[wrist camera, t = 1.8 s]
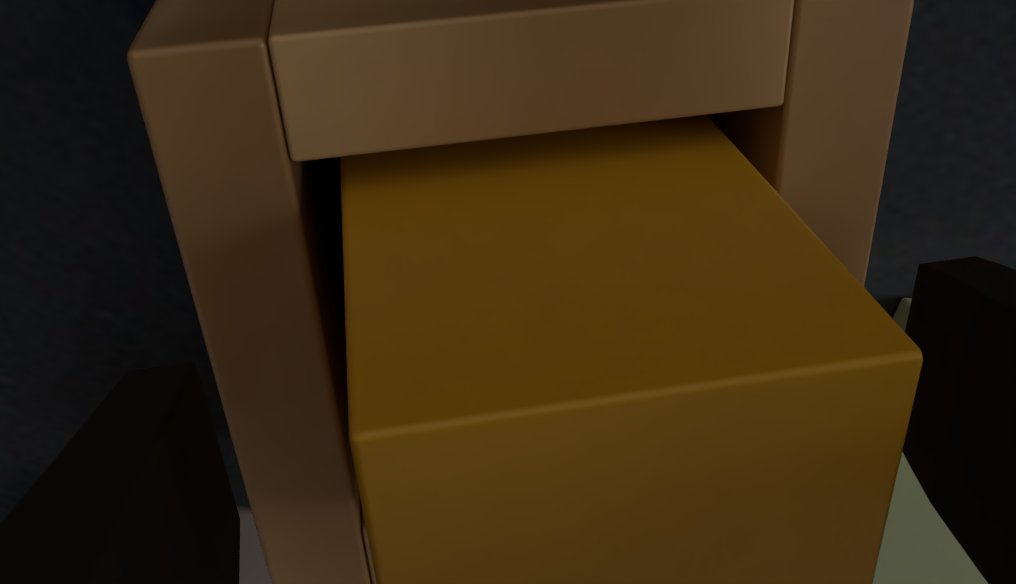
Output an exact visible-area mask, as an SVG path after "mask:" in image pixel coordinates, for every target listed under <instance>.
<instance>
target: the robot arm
mask: <svg viewBox="0 0 1016 584" xmlns="http://www.w3.org/2000/svg"><path fill="white" fill-rule="evenodd" d="M905 333H906V334H907V335H908V336H909V337H910V338H911V340H912V341H913V342H914V343H915V344H916V345H917V346H918V347H919V348H920V349H921V352H922V356H923V362H922V367H921V371H920V375H919V380H918V384H917V389H916V393H915V397H914V402H913V406H912V411H911V415H910V420H909V424H908V428H907V433H906V437H905V442H904V446H903V450H902V452H903V454H904V456H905V458H906V460H907V462H908V463H909V465H910V467H911V469H912V471H913V473H914V474H915V476H916V478H917V480H918V482H919V483H920V485H921V487H922V489H923V490H924V492H925V494H926V496H927V498H928V499H929V501H930V503H931V504H932V506H933V507H934V509H935V510H936V512H937V513H938V514H939V516H940V517H941V519H942V520H943V522H944V523H945V524H946V526H947V527H948V529H949V530H950V531H951V533H952V534H953V536H954V537H955V538H956V540H957V541H958V543H959V544H960V545H961V547H962V548H963V550H964V551H965V552H966V554H967V555H968V556H969V558H970V559H971V561H972V562H973V563H974V565H975V566H976V568H977V569H978V570H979V572H980V573H981V574H982V576H983V577H984V579H985V580H986V581H987V583H988V584H1016V270H1015V269H1012V268H1009V267H1006V266H1004V265H1001V264H998V263H995V262H991V261H988V260H985V259H982V258H979V257H968V258H961V259H953V260H946V261H939V262H931V263H924V264H919V267H918V272H917V277H916V281H915V286H914V291H913V296H912V300H911V305H910V310H909V315H908V320H907V324H906V329H905ZM239 550H240V517H239V514H238V510H237V507H236V503H235V500H234V496H233V493H232V489H231V486H230V483H229V479H228V476H227V472H226V469H225V465H224V462H223V458H222V455H221V451H220V448H219V444H218V441H217V437H216V434H215V430H214V427H213V423H212V420H211V417H210V413H209V410H208V406H207V403H206V399H205V396H204V392H203V389H202V385H201V382H200V378H199V375H198V371H197V368H196V364H195V362H192V363H185V364H177V365H170V366H162V367H155V368H148V369H140V370H133V371H128V372H127V373H126V374H125V375H124V377H123V378H122V379H121V380H120V381H119V382H118V383H117V385H116V386H115V387H114V388H113V389H112V391H111V392H110V393H109V394H108V395H107V397H106V398H105V399H104V400H103V401H102V403H101V404H100V405H99V406H98V407H97V409H96V410H95V411H94V412H93V413H92V415H91V416H90V417H89V418H88V419H87V421H86V422H85V423H84V424H83V426H82V427H81V428H80V429H79V430H78V432H77V433H76V434H75V435H74V436H73V438H72V439H71V440H70V441H69V443H68V444H67V445H66V446H65V447H64V449H63V450H62V451H61V452H60V453H59V455H58V456H57V457H56V458H55V460H54V461H53V462H52V463H51V464H50V466H49V467H48V468H47V469H46V470H45V472H44V473H43V474H42V475H41V476H40V478H39V479H38V480H37V481H36V482H35V483H34V485H33V486H32V487H31V488H30V489H29V490H28V492H27V493H26V494H25V495H24V496H23V497H22V499H21V500H20V501H19V502H18V503H17V504H16V506H15V507H14V508H13V509H12V510H11V511H10V513H9V514H8V515H7V516H6V517H5V518H4V519H3V521H2V522H1V523H0V584H239V552H240V551H239Z"/></svg>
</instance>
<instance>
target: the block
mask: <svg viewBox="0 0 1016 584" xmlns="http://www.w3.org/2000/svg"><path fill="white" fill-rule="evenodd" d="M340 175H341V206H342V236H343V267H344V298H345V329H346V359H347V390H348V421H349V441H350V447H351V452H352V457H353V463H354V468H355V473H356V478H357V484H358V489H359V494H360V500H361V505H362V510H363V516H364V521H365V526H366V531H367V537H368V542H369V547H370V553H371V558H372V563H373V568H374V574H375V579H376V584H872V583H873V578H874V574H875V570H876V565H877V561H878V556H879V552H880V548H881V543H882V539H883V534H884V530H885V525H886V521H887V517H888V512H889V508H890V503H891V499H892V495H893V490H894V486H895V481H896V477H897V473H898V468H899V464H900V459H901V455H902V450H903V446H904V442H905V437H906V433H907V428H908V424H909V420H910V415H911V411H912V406H913V402H914V397H915V393H916V389H917V384H918V380H919V375H920V371H921V367H922V362H923V356H922V352H921V349H920V348H919V347H918V346H917V345H916V344H915V343H914V342H913V341H912V340H911V338H910V337H909V336H908V335H907V334H906V333H905V332H904V331H903V330H902V329H901V327H900V326H899V325H898V324H897V323H896V322H895V321H894V320H893V319H892V318H891V317H890V315H889V314H888V313H887V312H886V311H885V310H884V309H883V308H882V307H881V306H880V304H879V303H878V302H877V301H876V300H875V299H874V298H873V297H872V296H871V295H870V293H869V292H868V291H867V290H866V289H865V288H864V287H863V286H862V285H861V284H860V283H859V281H858V280H857V279H856V278H855V277H854V276H853V275H852V274H851V273H850V272H849V270H848V269H847V268H846V267H845V266H844V265H843V264H842V263H841V262H840V261H839V259H838V258H837V257H836V256H835V255H834V254H833V253H832V252H831V251H830V250H829V249H828V247H827V246H826V245H825V244H824V243H823V242H822V241H821V240H820V239H819V238H818V236H817V235H816V234H815V233H814V232H813V231H812V230H811V229H810V228H809V227H808V225H807V224H806V223H805V222H804V221H803V220H802V219H801V218H800V217H799V216H798V215H797V213H796V212H795V211H794V210H793V209H792V208H791V207H790V206H789V205H788V204H787V202H786V201H785V200H784V199H783V198H782V197H781V196H780V195H779V194H778V193H777V191H776V190H775V189H774V188H773V187H772V186H771V185H770V184H769V183H768V182H767V181H766V179H765V178H764V177H763V176H762V175H761V174H760V173H759V172H758V171H757V170H756V168H755V167H754V166H753V165H752V164H751V163H750V162H749V161H748V160H747V159H746V157H745V156H744V155H743V154H742V153H741V152H740V151H739V150H738V149H737V148H736V147H735V145H734V144H733V143H732V142H731V141H730V140H729V139H728V138H727V137H726V136H725V134H724V133H723V132H722V131H721V130H720V129H719V128H718V127H717V126H716V125H715V123H714V122H713V121H712V120H711V119H710V118H709V117H708V116H707V115H697V116H689V117H680V118H671V119H663V120H654V121H645V122H637V123H628V124H619V125H611V126H602V127H593V128H585V129H576V130H567V131H559V132H550V133H541V134H533V135H524V136H515V137H507V138H498V139H489V140H481V141H472V142H463V143H455V144H446V145H437V146H429V147H420V148H411V149H403V150H394V151H385V152H376V153H368V154H359V155H350V156H342V157H340Z"/></svg>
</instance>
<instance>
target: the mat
mask: <svg viewBox="0 0 1016 584" xmlns="http://www.w3.org/2000/svg"><path fill="white" fill-rule="evenodd" d="M911 300H912V298H903V299H902V300H901V302H900V304H899V306H898V308H897V310H896V312H895V314H894V316H893V318H892V319H893V320H894V321H895V322H896V323H897V324H898V325H899V326H900V327H901V329H902V330H903V331H904V332H905V329H906V324H907V320H908V315H909V310H910V305H911ZM872 584H988V583H987V581H986V580H985V579H984V577H983V576H982V574H981V573H980V572H979V570H978V569H977V568H976V566H975V565H974V563H973V562H972V561H971V559H970V558H969V556H968V555H967V554H966V552H965V551H964V550H963V548H962V547H961V545H960V544H959V543H958V541H957V540H956V538H955V537H954V536H953V534H952V533H951V531H950V530H949V529H948V527H947V526H946V524H945V523H944V522H943V520H942V519H941V517H940V516H939V514H938V513H937V512H936V510H935V509H934V507H933V506H932V504H931V503H930V501H929V499H928V498H927V496H926V494H925V492H924V490H923V489H922V487H921V485H920V483H919V482H918V480H917V478H916V476H915V474H914V473H913V471H912V469H911V467H910V465H909V463H908V462H907V460H906V458H905V456H904V454H903V452H902V455H901V459H900V464H899V468H898V473H897V477H896V481H895V486H894V490H893V495H892V499H891V503H890V508H889V512H888V517H887V521H886V525H885V530H884V534H883V539H882V543H881V548H880V552H879V556H878V561H877V565H876V570H875V574H874V578H873V583H872Z"/></svg>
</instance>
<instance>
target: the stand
mask: <svg viewBox="0 0 1016 584" xmlns="http://www.w3.org/2000/svg"><path fill="white" fill-rule="evenodd" d="M913 4H914V0H156V1H155V3H154V5H153V7H152V8H151V10H150V12H149V14H148V16H147V17H146V19H145V21H144V23H143V25H142V26H141V28H140V30H139V32H138V34H137V35H136V37H135V39H134V41H133V43H132V44H131V46H130V48H129V50H128V53H127V62H128V66H129V69H130V73H131V77H132V80H133V84H134V87H135V91H136V95H137V98H138V102H139V106H140V109H141V113H142V116H143V120H144V124H145V127H146V131H147V134H148V138H149V142H150V145H151V149H152V153H153V156H154V160H155V163H156V167H157V171H158V174H159V178H160V181H161V185H162V189H163V192H164V196H165V200H166V203H167V207H168V210H169V214H170V218H171V221H172V225H173V228H174V232H175V236H176V239H177V243H178V247H179V250H180V254H181V257H182V261H183V265H184V268H185V272H186V275H187V279H188V283H189V286H190V290H191V294H192V297H193V301H194V304H195V308H196V312H197V315H198V319H199V322H200V326H201V330H202V333H203V337H204V341H205V344H206V348H207V351H208V355H209V359H210V362H211V366H212V369H213V373H214V377H215V380H216V384H217V388H218V391H219V395H220V398H221V402H222V406H223V409H224V413H225V416H226V420H227V424H228V427H229V431H230V435H231V438H232V442H233V445H234V449H235V453H236V456H237V460H238V463H239V467H240V471H241V474H242V478H243V482H244V485H245V489H246V492H247V496H248V500H249V503H250V507H251V510H252V514H253V518H254V521H255V525H256V529H257V532H258V536H259V539H260V543H261V547H262V550H263V554H264V557H265V561H266V565H267V568H268V572H269V576H270V579H271V582H272V584H376V579H375V574H374V568H373V563H372V558H371V553H370V547H369V542H368V537H367V531H366V526H365V521H364V516H363V510H362V505H361V500H360V494H359V489H358V484H357V478H356V473H355V468H354V463H353V457H352V452H351V447H350V441H349V421H348V390H347V359H346V329H345V310H344V304H343V298H342V293H341V287H340V281H339V276H338V270H337V264H336V258H335V253H334V247H333V241H332V236H331V230H330V224H329V218H328V213H327V207H326V201H325V196H324V190H323V184H322V179H321V173H320V167H319V161H318V159H324V158H333V157H342V156H350V155H359V154H368V153H376V152H385V151H394V150H403V149H411V148H420V147H429V146H437V145H446V144H455V143H463V142H472V141H481V140H489V139H498V138H507V137H515V136H524V135H533V134H541V133H550V132H559V131H567V130H576V129H585V128H593V127H602V126H611V125H619V124H628V123H637V122H645V121H654V120H663V119H671V118H680V117H689V116H697V115H707V116H708V117H709V118H710V119H711V120H712V121H713V122H714V123H715V125H716V126H717V127H718V128H719V129H720V130H721V131H722V132H723V133H724V134H725V136H726V137H727V138H728V139H729V140H730V141H731V142H732V143H733V144H734V145H735V147H736V148H737V149H738V150H739V151H740V152H741V153H742V154H743V155H744V156H745V157H746V159H747V160H748V161H749V162H750V163H751V164H752V165H753V166H754V167H755V168H756V170H757V171H758V172H759V173H760V174H761V175H762V176H763V177H764V178H765V179H766V181H767V182H768V183H769V184H770V185H771V186H772V187H773V188H774V189H775V190H776V191H777V193H778V194H779V195H780V196H781V197H782V198H783V199H784V200H785V201H786V202H787V204H788V205H789V206H790V207H791V208H792V209H793V210H794V211H795V212H796V213H797V215H798V216H799V217H800V218H801V219H802V220H803V221H804V222H805V223H806V224H807V225H808V227H809V228H810V229H811V230H812V231H813V232H814V233H815V234H816V235H817V236H818V238H819V239H820V240H821V241H822V242H823V243H824V244H825V245H826V246H827V247H828V249H829V250H830V251H831V252H832V253H833V254H834V255H835V256H836V257H837V258H838V259H839V261H840V262H841V263H842V264H843V265H844V266H845V267H846V268H847V269H848V270H849V272H850V273H851V274H852V275H853V276H854V277H855V278H856V279H857V280H858V281H859V283H860V284H861V285H862V286H863V287H864V283H865V277H866V272H867V266H868V260H869V255H870V249H871V243H872V238H873V232H874V226H875V220H876V215H877V209H878V203H879V198H880V192H881V186H882V181H883V175H884V169H885V164H886V158H887V152H888V147H889V141H890V135H891V129H892V124H893V118H894V112H895V107H896V101H897V95H898V90H899V84H900V78H901V73H902V67H903V61H904V56H905V50H906V44H907V38H908V33H909V27H910V21H911V16H912V10H913Z"/></svg>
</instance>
